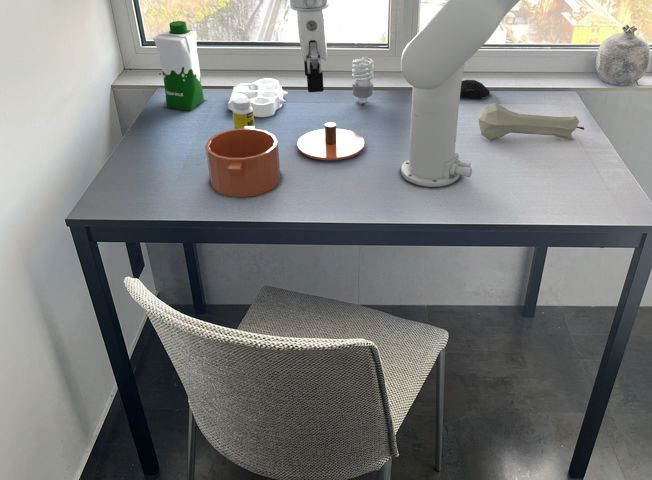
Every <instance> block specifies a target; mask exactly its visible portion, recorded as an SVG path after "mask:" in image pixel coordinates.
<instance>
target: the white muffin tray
mask: <svg viewBox="0 0 652 480" xmlns="http://www.w3.org/2000/svg"><path fill="white" fill-rule="evenodd" d="M288 93H289V92H288V91H286V90H283V87H282V86H281V85H280V84H279V81H278V80H277V79H275V78H261V79H258V80H256V81H255V82H250V83H245V82H244V83H238V84H237V85H235V86H233V87H232V92H231V94H230V98H229V100H228V102H227V109H228V110H230V111H232V112H233V108H234V104H233V100H234V99H236V98H239V97H247V98H249V99H250V100H251V107H252V108H253V116H254V117H255V118H269V117H273V116H274V115H276V111H278V110H280V109H281V108H282V106H283V104H284V103H287V100H285V99H284V97H285V95H287V94H288Z"/></svg>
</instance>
